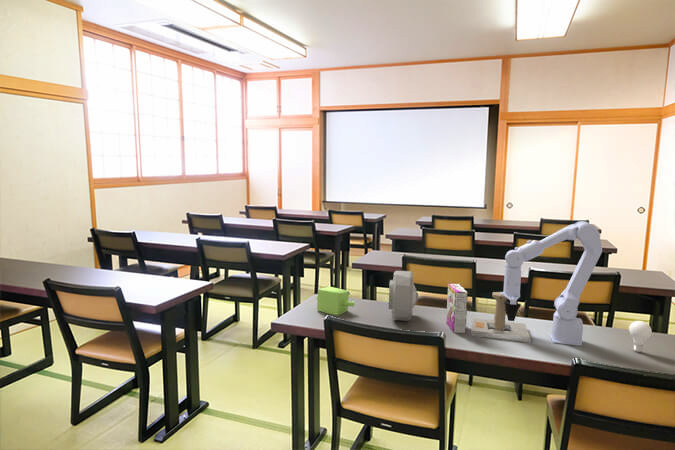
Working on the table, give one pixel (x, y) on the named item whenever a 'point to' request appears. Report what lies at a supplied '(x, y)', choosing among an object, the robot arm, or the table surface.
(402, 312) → the dial
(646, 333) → the lightbulb
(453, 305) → the candy bar box
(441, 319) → the table surface
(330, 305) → the gearbox
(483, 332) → the rack plate
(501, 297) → the handle
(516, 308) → the robot arm
